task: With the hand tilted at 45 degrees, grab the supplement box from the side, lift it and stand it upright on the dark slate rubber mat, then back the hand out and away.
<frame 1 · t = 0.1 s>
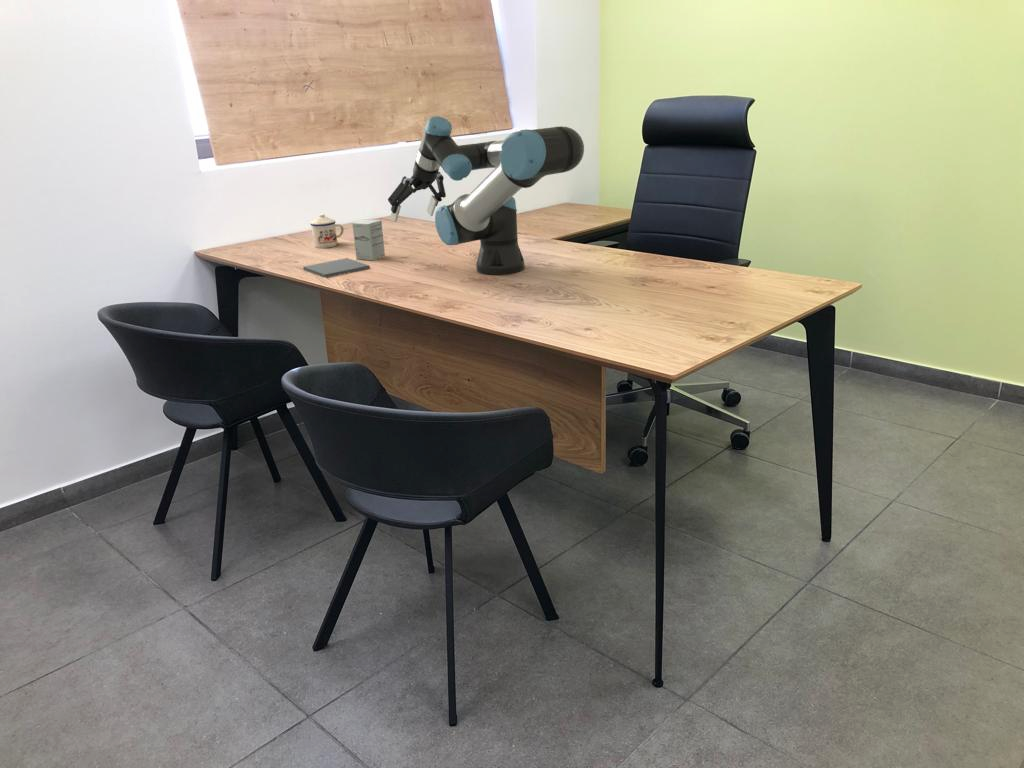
hand: (411, 216, 263), 15 cm above the table, tool tilted 35°, fingers open, 13 cm apart
teacup with lid: (329, 245, 303), on the table
supplement box: (370, 258, 279), on the table
slate mat: (336, 269, 266), on the table
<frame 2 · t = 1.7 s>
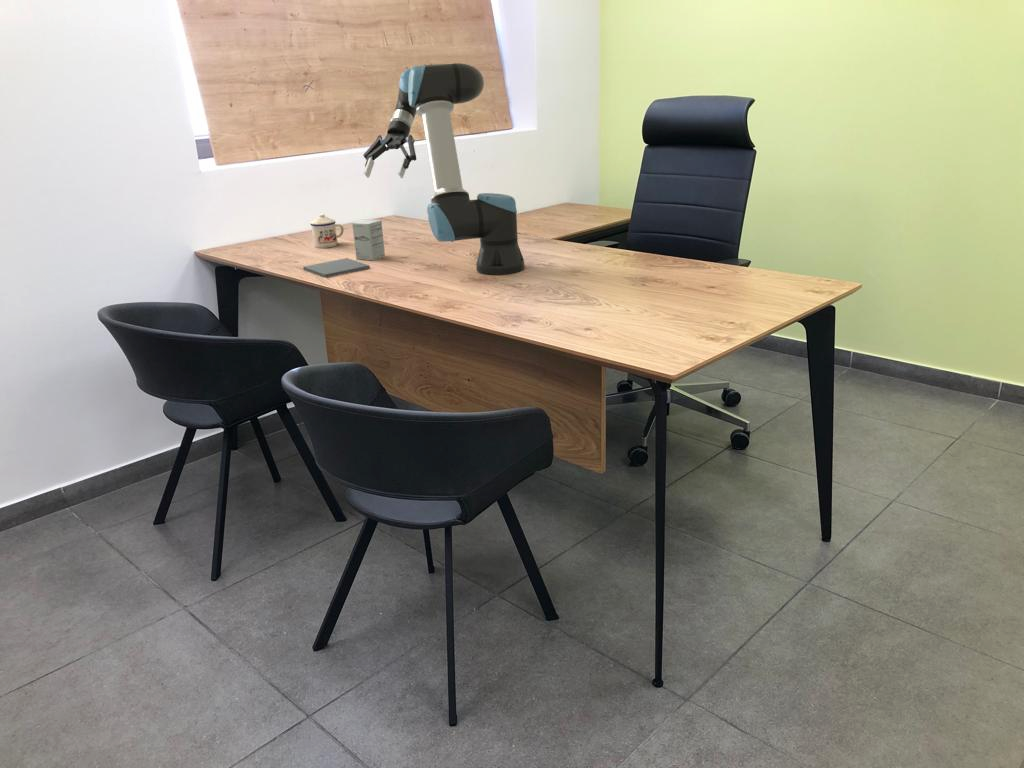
hand: (383, 175, 281), 26 cm above the table, tool tilted 45°, fingers open, 13 cm apart
nothing on the table moved.
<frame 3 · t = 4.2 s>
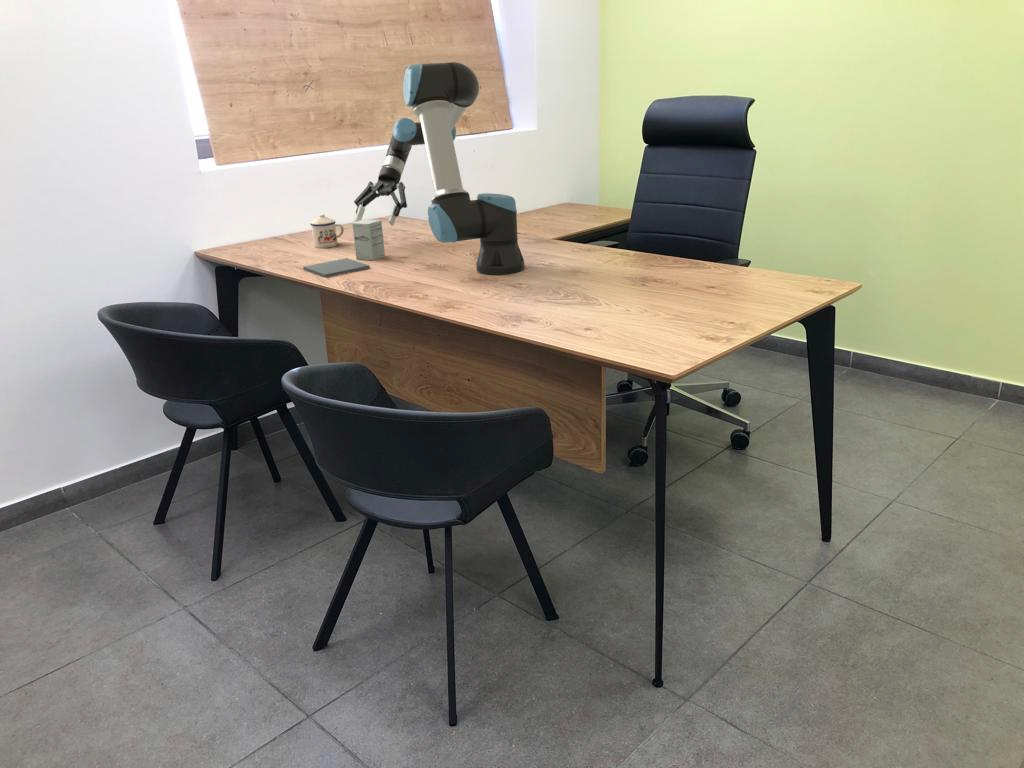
hand: (373, 223, 280), 11 cm above the table, tool tilted 45°, fingers open, 13 cm apart
nothing on the table moved.
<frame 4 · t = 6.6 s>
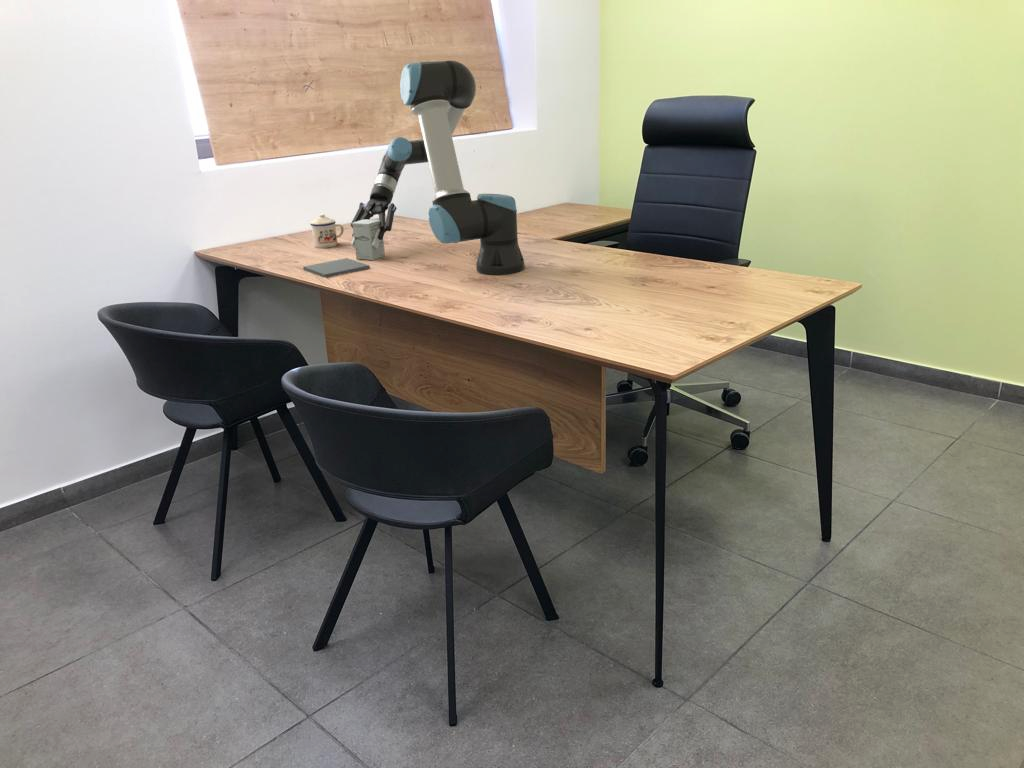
hand: (364, 246, 274), 5 cm above the table, tool tilted 45°, fingers closed on supplement box, 8 cm apart
supplement box: (370, 258, 279), on the table, touching gripper
everything else where it was.
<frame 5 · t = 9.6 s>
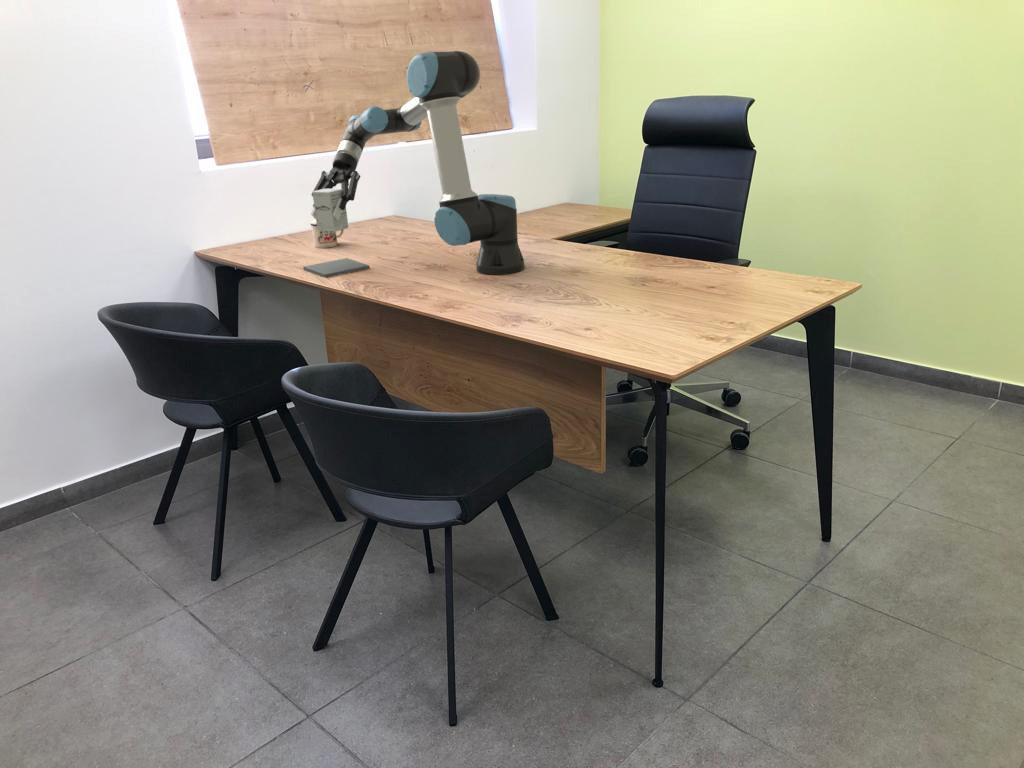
hand: (325, 217, 257), 17 cm above the table, tool tilted 45°, fingers closed on supplement box, 8 cm apart
supplement box: (333, 230, 262), point 13 cm above the table, touching gripper
everything else where it was.
when the fingers open (8 cm above the table, at t = 12.5 s): supplement box drops 2 cm, resting on slate mat.
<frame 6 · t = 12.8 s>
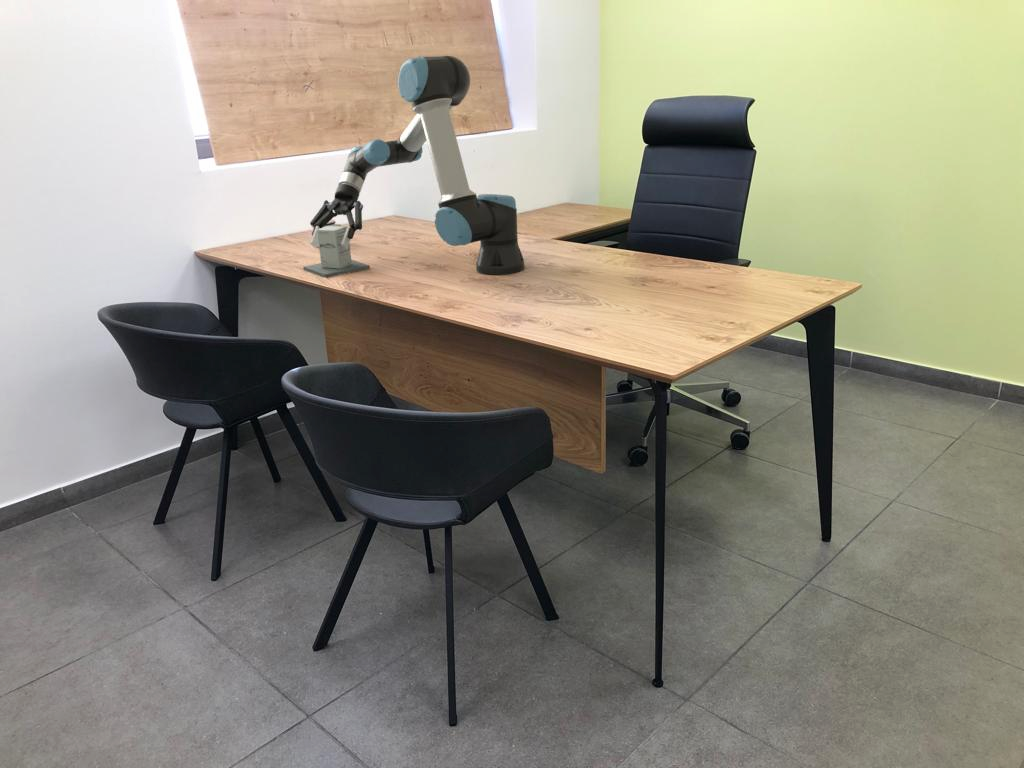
hand: (328, 246, 260), 8 cm above the table, tool tilted 45°, fingers open, 11 cm apart
supplement box: (337, 266, 265), point 1 cm above the table, touching slate mat
everything else where it was.
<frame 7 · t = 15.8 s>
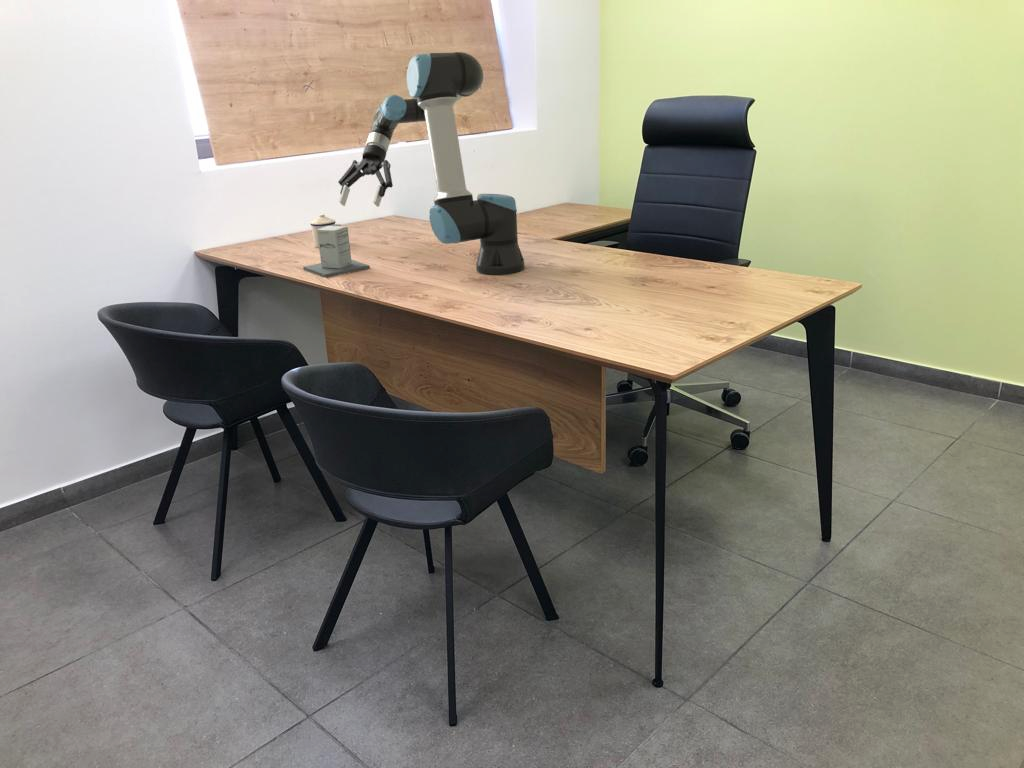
hand: (358, 204, 270), 19 cm above the table, tool tilted 40°, fingers open, 13 cm apart
nothing on the table moved.
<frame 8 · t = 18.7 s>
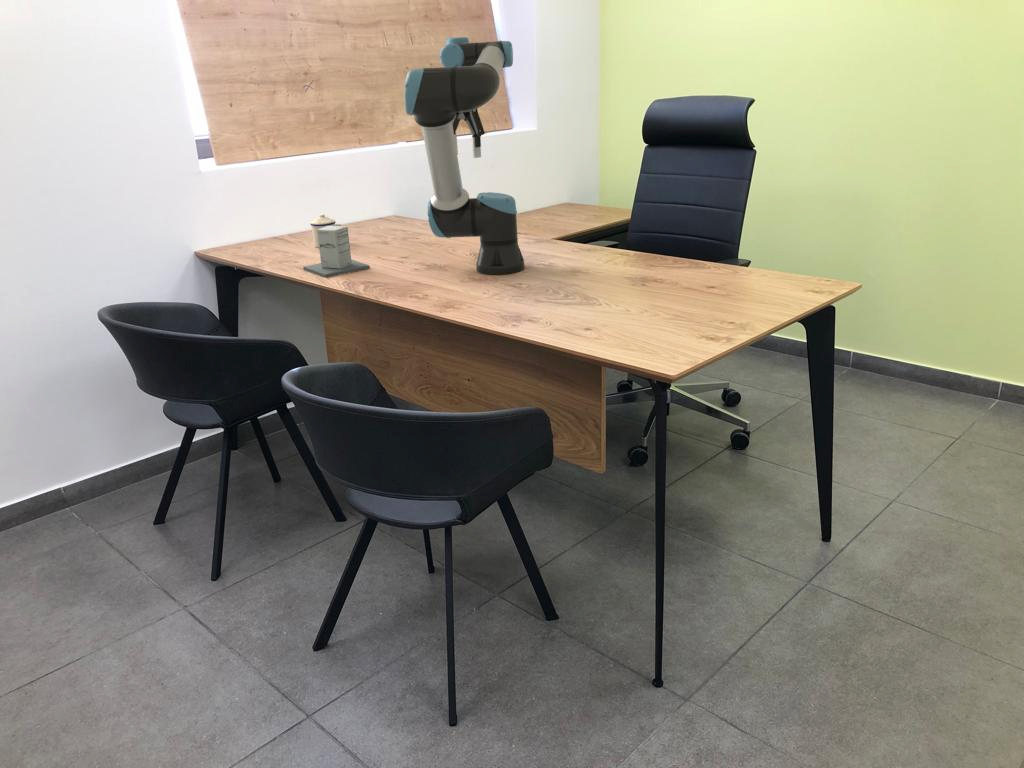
hand: (465, 156, 271), 32 cm above the table, tool pointing down, fingers open, 13 cm apart
nothing on the table moved.
at the end: supplement box inside the target area on the slate mat (0.4 cm from its centre), point 0.8 cm above the slate mat's base; supplement box tilted 0°; the gripper is holding nothing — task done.
